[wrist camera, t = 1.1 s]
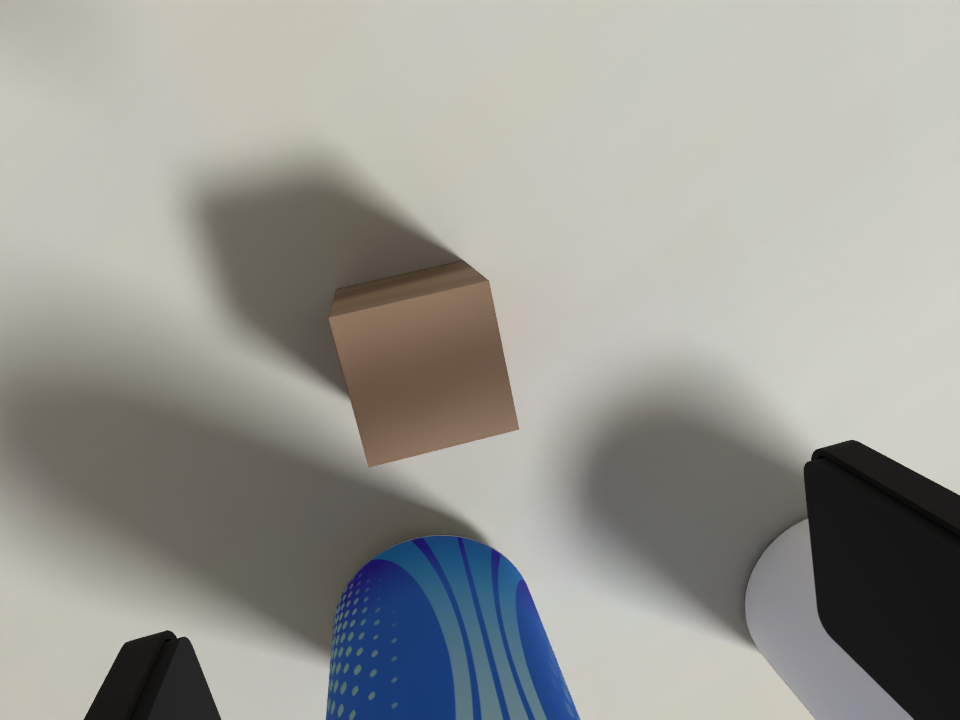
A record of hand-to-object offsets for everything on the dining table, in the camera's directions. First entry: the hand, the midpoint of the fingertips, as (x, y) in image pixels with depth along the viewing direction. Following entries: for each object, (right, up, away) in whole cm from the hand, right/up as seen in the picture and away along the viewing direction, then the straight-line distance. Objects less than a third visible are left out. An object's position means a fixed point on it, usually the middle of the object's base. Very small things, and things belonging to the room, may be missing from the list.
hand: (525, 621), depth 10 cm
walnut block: (-3, +5, +18) cm, 19 cm away
